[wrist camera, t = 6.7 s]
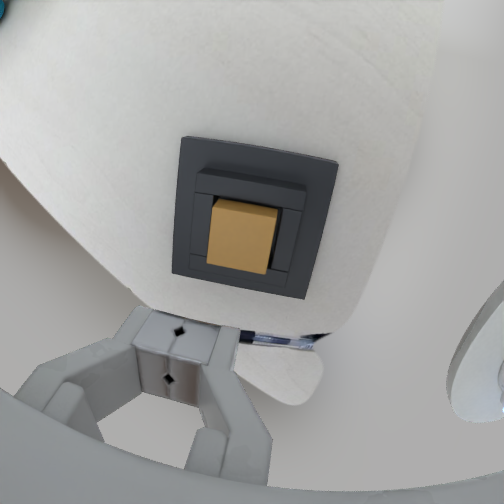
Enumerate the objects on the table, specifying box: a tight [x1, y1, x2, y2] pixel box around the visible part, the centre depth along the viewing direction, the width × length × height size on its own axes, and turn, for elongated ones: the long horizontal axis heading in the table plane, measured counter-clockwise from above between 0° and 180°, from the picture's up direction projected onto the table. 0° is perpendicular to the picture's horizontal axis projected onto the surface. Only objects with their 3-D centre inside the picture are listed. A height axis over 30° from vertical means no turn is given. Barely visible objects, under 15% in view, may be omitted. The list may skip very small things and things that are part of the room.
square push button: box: [172, 136, 339, 299], centre depth 21 cm, size 10×10×3 cm
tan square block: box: [207, 199, 278, 274], centre depth 19 cm, size 4×4×2 cm
